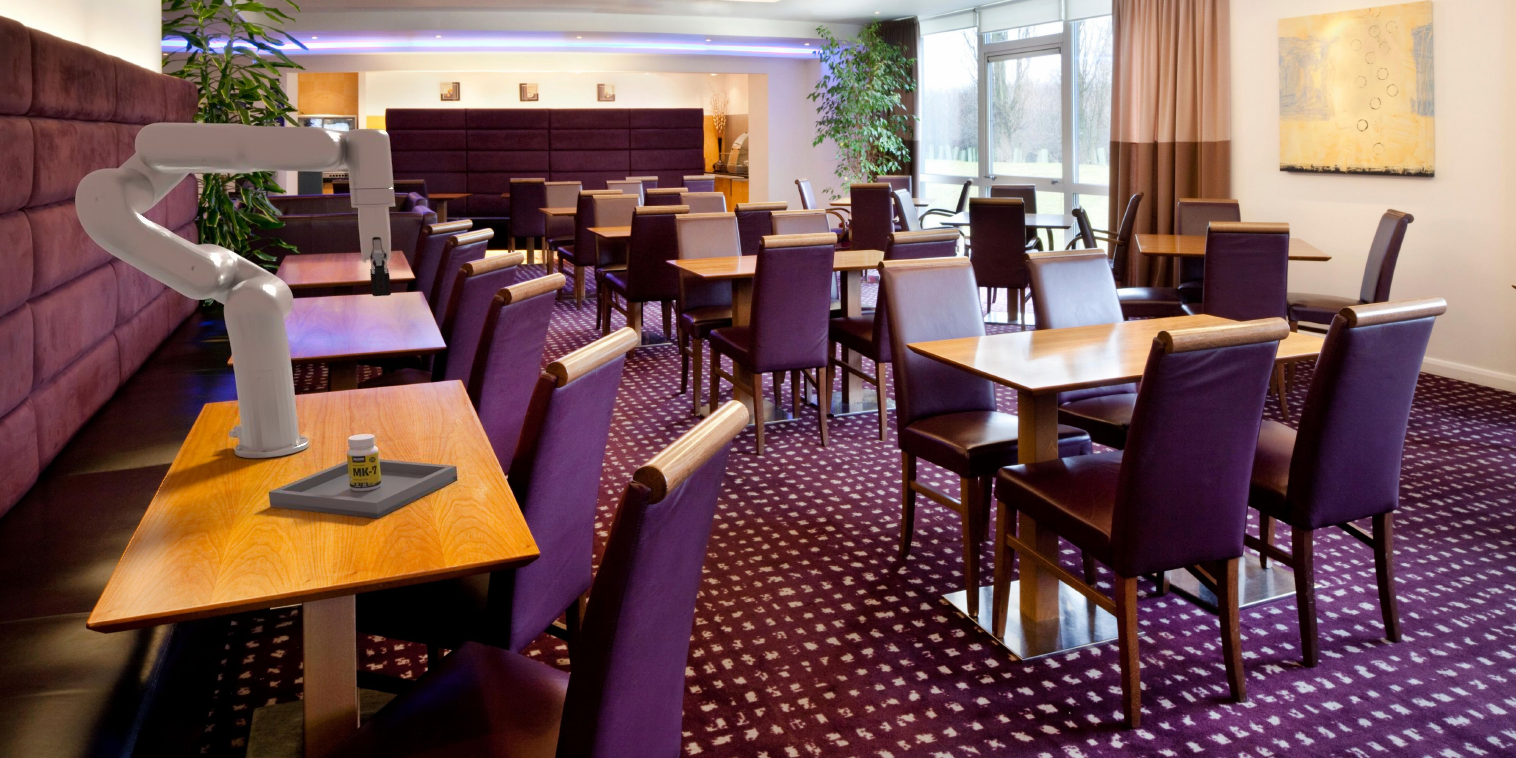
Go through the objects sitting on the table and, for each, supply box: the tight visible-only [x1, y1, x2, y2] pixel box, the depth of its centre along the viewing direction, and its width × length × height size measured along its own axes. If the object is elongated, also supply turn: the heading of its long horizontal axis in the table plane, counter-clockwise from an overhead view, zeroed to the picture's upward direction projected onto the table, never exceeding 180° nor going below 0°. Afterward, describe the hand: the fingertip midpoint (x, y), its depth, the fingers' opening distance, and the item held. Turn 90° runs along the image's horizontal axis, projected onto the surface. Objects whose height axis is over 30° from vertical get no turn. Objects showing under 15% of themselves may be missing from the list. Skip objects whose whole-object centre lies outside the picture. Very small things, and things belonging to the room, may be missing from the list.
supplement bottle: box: [346, 433, 381, 492], centre depth 168 cm, size 5×5×8 cm
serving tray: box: [268, 458, 458, 519], centre depth 168 cm, size 20×20×2 cm
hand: (381, 292), depth 195 cm, fingers open, 9 cm apart
